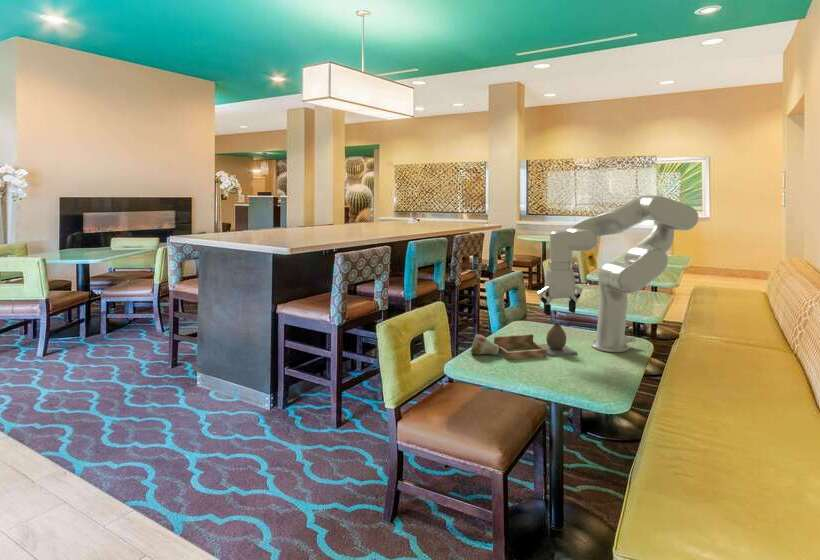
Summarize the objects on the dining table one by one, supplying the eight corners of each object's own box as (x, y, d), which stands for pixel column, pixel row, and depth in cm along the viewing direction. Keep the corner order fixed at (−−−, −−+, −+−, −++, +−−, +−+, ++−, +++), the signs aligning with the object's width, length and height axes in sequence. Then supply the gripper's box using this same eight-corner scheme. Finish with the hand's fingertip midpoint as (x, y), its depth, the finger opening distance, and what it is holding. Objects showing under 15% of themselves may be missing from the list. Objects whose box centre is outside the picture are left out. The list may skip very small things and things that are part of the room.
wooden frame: (531, 347, 193) (532, 334, 193) (546, 356, 183) (547, 342, 182) (493, 350, 190) (494, 336, 189) (506, 359, 179) (507, 345, 178)
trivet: (560, 345, 196) (560, 342, 196) (577, 354, 186) (577, 351, 186) (533, 347, 194) (534, 344, 194) (549, 356, 183) (549, 354, 183)
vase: (553, 352, 185) (555, 328, 184) (542, 346, 192) (543, 323, 190) (569, 350, 188) (571, 326, 186) (557, 344, 194) (559, 321, 193)
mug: (501, 359, 181) (488, 335, 178) (476, 367, 185) (463, 344, 182) (503, 347, 188) (490, 324, 185) (478, 356, 191) (466, 334, 189)
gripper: (576, 262, 190) (575, 308, 193) (533, 266, 186) (532, 313, 189) (588, 265, 183) (587, 313, 186) (543, 269, 179) (543, 318, 182)
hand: (559, 313), depth 188 cm, fingers open, 9 cm apart
